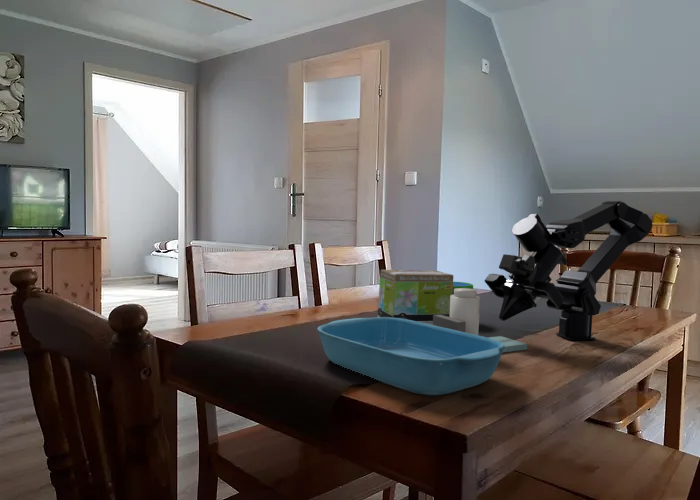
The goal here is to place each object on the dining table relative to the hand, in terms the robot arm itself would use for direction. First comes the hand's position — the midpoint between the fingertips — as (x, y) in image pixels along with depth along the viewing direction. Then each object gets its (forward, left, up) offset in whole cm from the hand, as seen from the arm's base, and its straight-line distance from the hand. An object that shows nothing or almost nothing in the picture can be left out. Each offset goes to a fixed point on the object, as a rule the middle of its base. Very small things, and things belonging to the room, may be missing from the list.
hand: (501, 319), depth 121 cm
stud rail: (+5, +1, -6) cm, 8 cm away
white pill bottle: (+10, +3, -5) cm, 11 cm away
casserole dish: (+27, +14, -7) cm, 31 cm away
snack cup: (-1, -28, -6) cm, 29 cm away
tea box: (+14, -16, -6) cm, 22 cm away
